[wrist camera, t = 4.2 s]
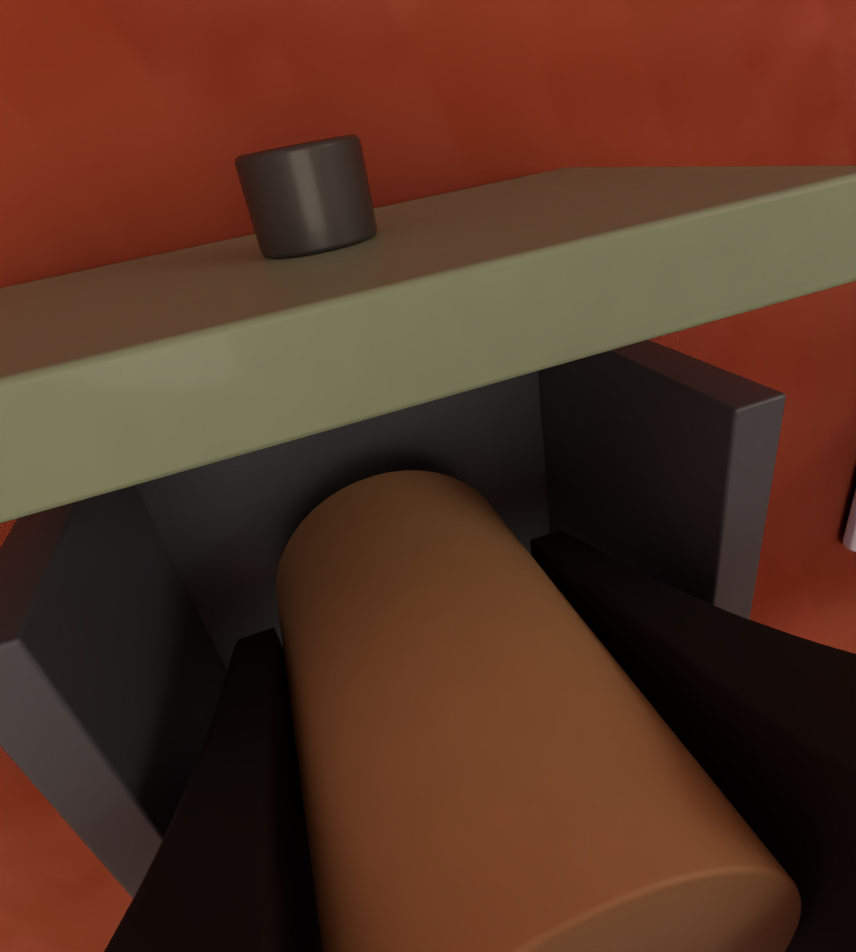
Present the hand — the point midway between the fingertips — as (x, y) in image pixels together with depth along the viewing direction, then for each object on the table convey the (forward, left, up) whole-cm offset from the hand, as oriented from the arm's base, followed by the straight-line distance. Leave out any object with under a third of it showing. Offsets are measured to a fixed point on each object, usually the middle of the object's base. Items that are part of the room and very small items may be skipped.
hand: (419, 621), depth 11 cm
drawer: (0, -1, -4) cm, 4 cm away
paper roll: (0, 0, -2) cm, 2 cm away
